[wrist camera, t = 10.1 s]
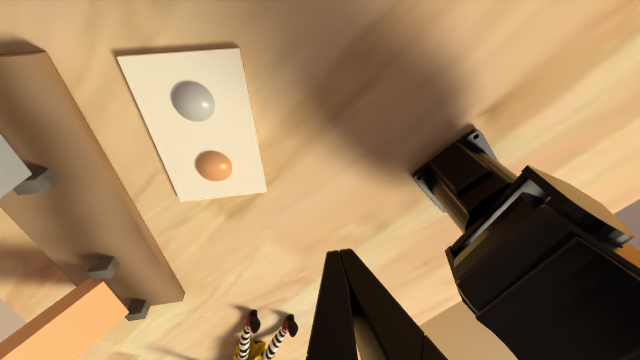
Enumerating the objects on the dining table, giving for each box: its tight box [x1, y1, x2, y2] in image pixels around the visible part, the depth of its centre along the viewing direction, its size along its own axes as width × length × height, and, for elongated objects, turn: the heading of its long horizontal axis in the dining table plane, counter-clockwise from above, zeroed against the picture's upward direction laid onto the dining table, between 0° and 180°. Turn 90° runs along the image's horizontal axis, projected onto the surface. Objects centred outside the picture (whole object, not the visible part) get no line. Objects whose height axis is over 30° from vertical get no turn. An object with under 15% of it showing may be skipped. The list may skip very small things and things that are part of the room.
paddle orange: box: [0, 278, 129, 360], centre depth 21 cm, size 2×5×11 cm
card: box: [117, 48, 267, 202], centre depth 19 cm, size 7×11×1 cm, turn 2°
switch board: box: [0, 52, 185, 321], centre depth 21 cm, size 8×24×2 cm, turn 2°
